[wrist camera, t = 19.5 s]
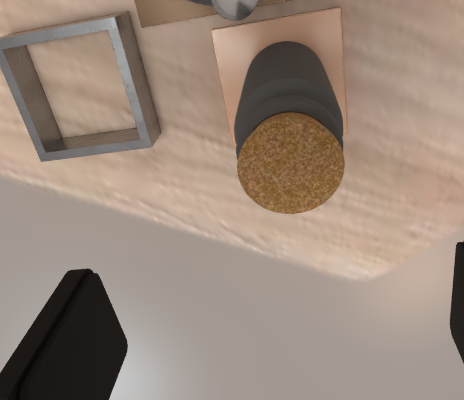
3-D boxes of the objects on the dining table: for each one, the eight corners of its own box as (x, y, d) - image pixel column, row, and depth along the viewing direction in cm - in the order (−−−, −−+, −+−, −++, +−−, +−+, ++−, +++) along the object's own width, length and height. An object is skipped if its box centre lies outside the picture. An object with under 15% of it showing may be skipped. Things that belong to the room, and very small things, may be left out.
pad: (339, 6, 30) (340, 7, 29) (346, 129, 34) (347, 132, 34) (212, 29, 31) (211, 30, 31) (233, 144, 36) (233, 146, 35)
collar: (128, 11, 31) (114, 17, 29) (161, 132, 36) (152, 147, 33) (12, 33, 33) (-11, 40, 30) (57, 147, 37) (41, 161, 35)
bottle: (339, 94, 32) (380, 190, 19) (271, 132, 34) (267, 243, 21) (301, 23, 30) (318, 77, 17) (230, 68, 32) (198, 147, 19)
